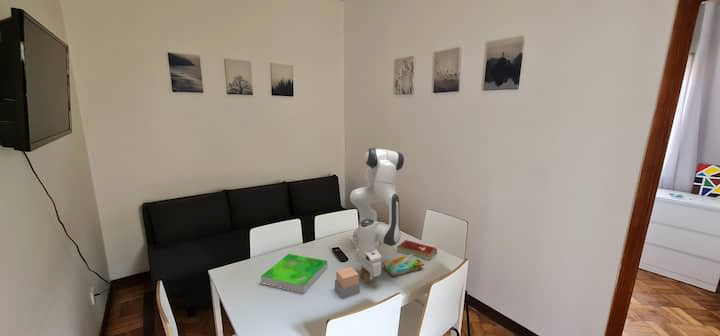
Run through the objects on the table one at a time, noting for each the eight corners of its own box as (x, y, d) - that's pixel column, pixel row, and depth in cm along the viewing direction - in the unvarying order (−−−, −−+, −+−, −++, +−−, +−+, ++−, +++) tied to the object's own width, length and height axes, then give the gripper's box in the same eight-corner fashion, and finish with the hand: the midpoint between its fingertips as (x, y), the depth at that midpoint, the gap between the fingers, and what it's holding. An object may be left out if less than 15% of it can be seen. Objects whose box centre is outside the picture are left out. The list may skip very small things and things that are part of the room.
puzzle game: (381, 260, 163) (412, 253, 171) (381, 268, 164) (411, 260, 172) (392, 270, 153) (424, 262, 161) (392, 278, 154) (424, 270, 162)
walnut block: (360, 277, 154) (359, 268, 153) (368, 274, 157) (368, 266, 156) (365, 282, 150) (365, 273, 149) (374, 279, 152) (374, 270, 151)
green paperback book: (261, 285, 149) (260, 276, 148) (289, 261, 172) (288, 253, 171) (304, 295, 141) (304, 285, 140) (327, 269, 164) (327, 260, 163)
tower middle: (336, 280, 144) (336, 270, 143) (350, 275, 147) (350, 266, 147) (343, 288, 137) (343, 278, 136) (358, 283, 141) (358, 274, 140)
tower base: (334, 289, 145) (334, 280, 144) (350, 283, 149) (350, 274, 148) (343, 299, 137) (342, 289, 136) (359, 293, 141) (359, 283, 141)
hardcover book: (405, 245, 192) (405, 239, 191) (436, 253, 180) (436, 247, 179) (396, 252, 182) (397, 246, 182) (429, 261, 171) (429, 255, 170)
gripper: (351, 244, 158) (352, 268, 160) (372, 261, 140) (372, 287, 143) (362, 242, 161) (362, 265, 163) (383, 257, 143) (383, 283, 146)
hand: (367, 275), depth 153 cm, fingers closed on walnut block, 5 cm apart
